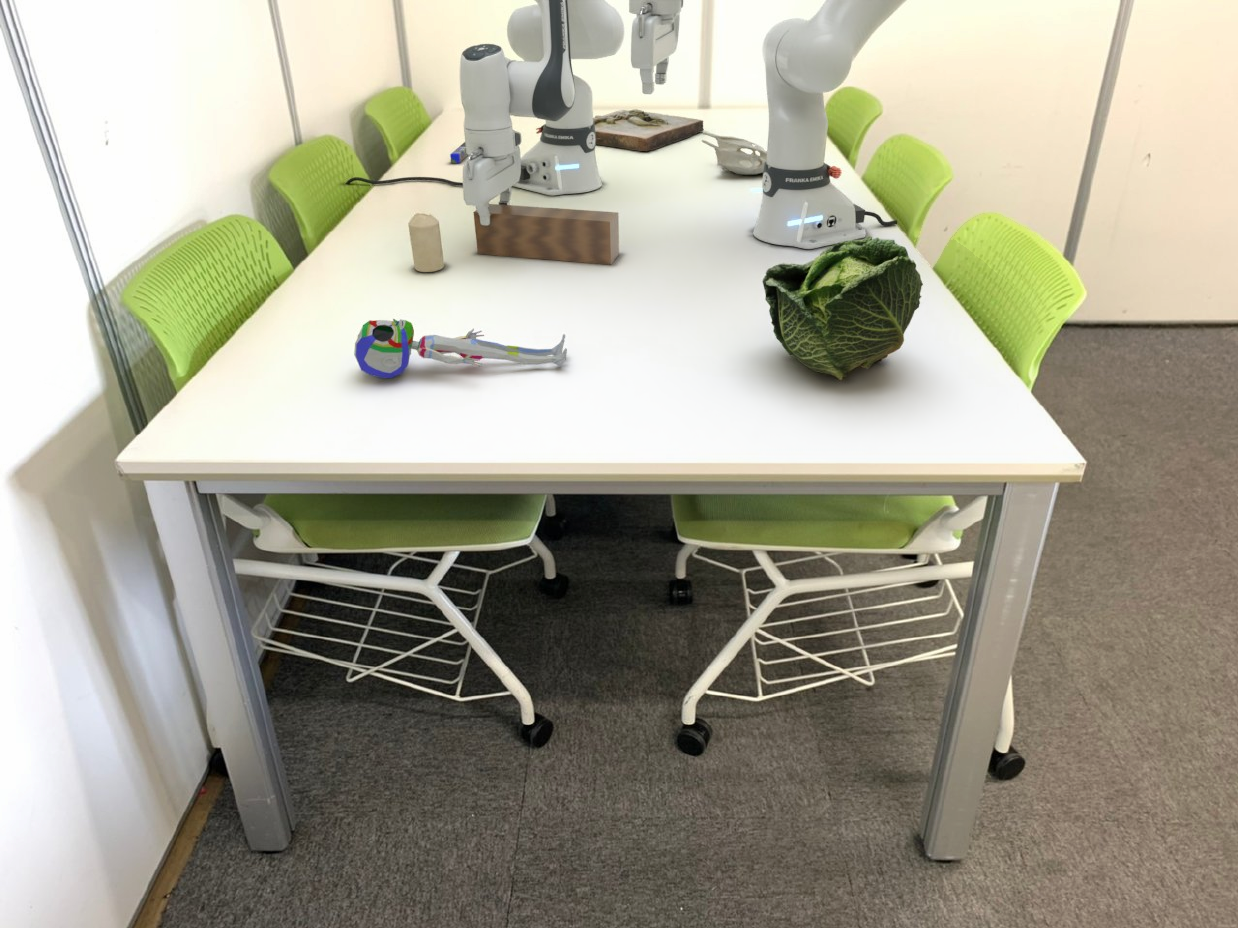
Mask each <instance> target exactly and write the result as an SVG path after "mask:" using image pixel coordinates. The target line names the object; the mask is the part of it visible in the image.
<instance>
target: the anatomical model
mask: <svg viewBox="0 0 1238 928" xmlns="http://www.w3.org/2000/svg"><path fill="white" fill-rule="evenodd" d="M702 135H704V136H708V137H711V138H714V139H715V140H716V142H717V145H715V144H713V143H712V142H709V141H708V140H705V139H701V142H702V143H703V144H706V145H708V146H709V147H711V148H713V149H714V152H715V155H716V160H717V164H716V165H717V166H721V167H722V170H724V171H727V172H729V171H730V172H733V173H735V174H736V175H744V176H747V175H750V176H751V175H752V176H753V175H759V174H763V171H764V163H765V162H766V161H767V150H766V149H764V148H763V147H762V146H761V145H759V144H757V143H755V142H752V141H749V140H748V139H744V138H739V137H736V136H730V135H729V136H727V135H726V136H725V135H719V134H715V133H711V132H707V131H702ZM743 149H747V150H751V151H752V152H751V153H748V152H747V153H746V152H745V151H743ZM756 152H758V153H759V155H758V154H756Z"/></svg>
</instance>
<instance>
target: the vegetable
mask: <svg viewBox="0 0 1238 928" xmlns="http://www.w3.org/2000/svg"><path fill="white" fill-rule="evenodd" d="M895 241H896V240H895V239H886V238H885V239H883V238H879V237H875V238H873V236H867V237H865V238H863V239H855V240H848V241H844V242H838V243H836V244H832V246H831V245H830V246H829V247H827V248H826V249H824V250H822V252H821V253H820V254H819V255H818V256H816V257H815V258H814V260H811V261H808V262H806V263H804V264H799V263H786V262H785V263H784V262H782V263H779V264H775V265H774V266H772V267H769V268H768V269H767V270H766V271H765V275H764V277H763V279H762V285H763V289H764V292H765V294H764V295H765V299H764V300H765V301H766V302H767V304H768V305H769V309H768V310H769V316H770V319H771V324H772V326H773V330H772V332H773V334H774V336H775V338H776V339H777V340H778V342H779V343H780V344H781V346H782V347H783V348H784V350H785V351H786V353H787V354H788V355H789V356H795V358H796V359H797V360H798V361H799V362H800V363H801V364H802V365H804V366H805V367H807V368H809V369H810V370H812V371H814V372H817V373H820V374H824V375H831V376H833V377H835V378H836V379H837V380H839V381H842V380H843V378H844V377H848V375H847V373H849V372H851V371H853V370H854V369H855V368H857V367H861V368H864V369H870V368H871V367H872V366H873V364H874V363H879V362H882V361H883V360H885V359H886V358H887V357H888V356H889V355H891V354H893V353H895V352H896V351H898V350H900V349H901V348H902V346H903V344H904V342H905V336H904V334H905V332H906V330H907V329H908V327H909V325H910V323H911V322H912V319H913V317H914V314H915V311H916V310H918V309H919V308H920V304H921V301H920V299H921V298H922V295H921V291H922V286H924V283H923V281H922V279H921V278H922V277H921V274H920V272H919V271H918V270H917V264H916V262H915V260H914V259H911V258H910V257H909V253H908V250H907V248H906V247H905V246H902V245H900V244H897V243H896V242H895Z"/></svg>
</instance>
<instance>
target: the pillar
mask: <svg viewBox="0 0 1238 928" xmlns="http://www.w3.org/2000/svg"><path fill="white" fill-rule="evenodd" d="M449 155H450V164H460V163H461V162H462V161H463V160H465V159H466V158H467V157H468V154H467V153H466V144H465V141H463V143H462V144H460V145H459V146H458V147H457V148H456V149H454V151H452V152H451V153H450V154H449Z"/></svg>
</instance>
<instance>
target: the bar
mask: <svg viewBox="0 0 1238 928" xmlns="http://www.w3.org/2000/svg"><path fill="white" fill-rule="evenodd" d="M488 210H489V214H491V215H492V223H490V224H489V225H481V223H480V216H479V214H478V212H477V210H475V211H473V212H472V213H473V221H474V223H473V224H474V233H475V241H476V242H475V243H476V250H477V255H487V256H499V257H511V258H523V259H537V260H549V261H560V262H573V263H585V264H595V265H609V266H610V265H612V264H613V263H614V262H615V260H616V259H617V258H618V257H619V255H620V232H619V231H620V229H619V228H620V226H619V225H620V224H619V221H620V220H619V212H617V211H603V210H587V209H572V208H559V207H557V208H556V207H543V206H529V205H527V206H526V205H516V204H515V205H513V204H510V205H500V204H499V203H498V204H497V203H489V207H488Z"/></svg>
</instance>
